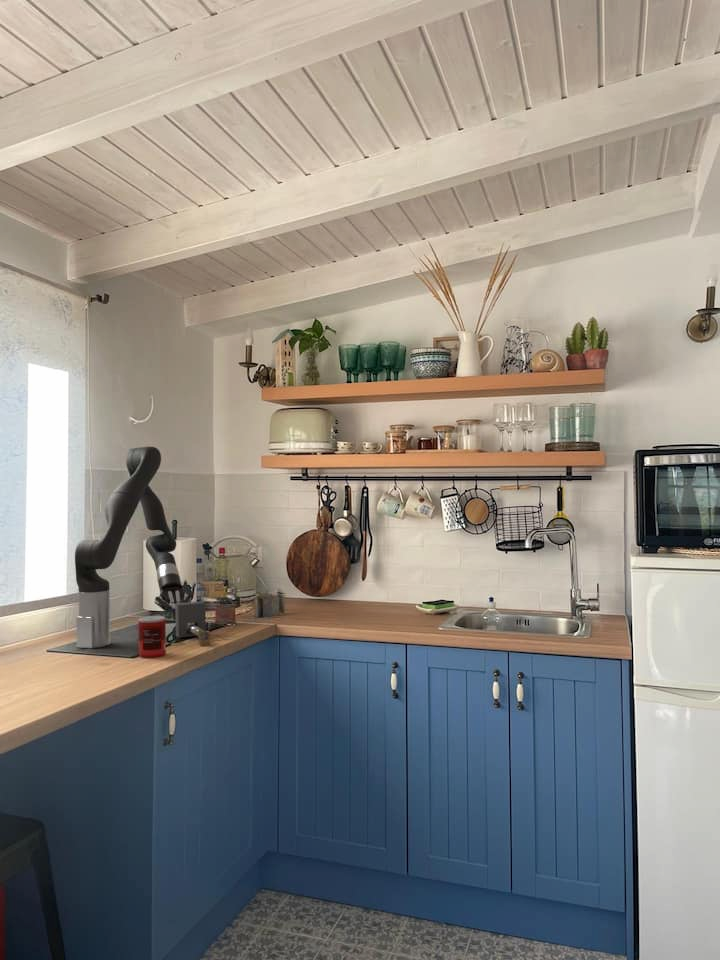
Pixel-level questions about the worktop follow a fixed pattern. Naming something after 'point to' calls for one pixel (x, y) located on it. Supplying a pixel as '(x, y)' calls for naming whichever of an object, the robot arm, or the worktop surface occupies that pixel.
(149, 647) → the canned food
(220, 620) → the lighter
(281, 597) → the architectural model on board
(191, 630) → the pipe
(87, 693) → the worktop surface
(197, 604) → the block
